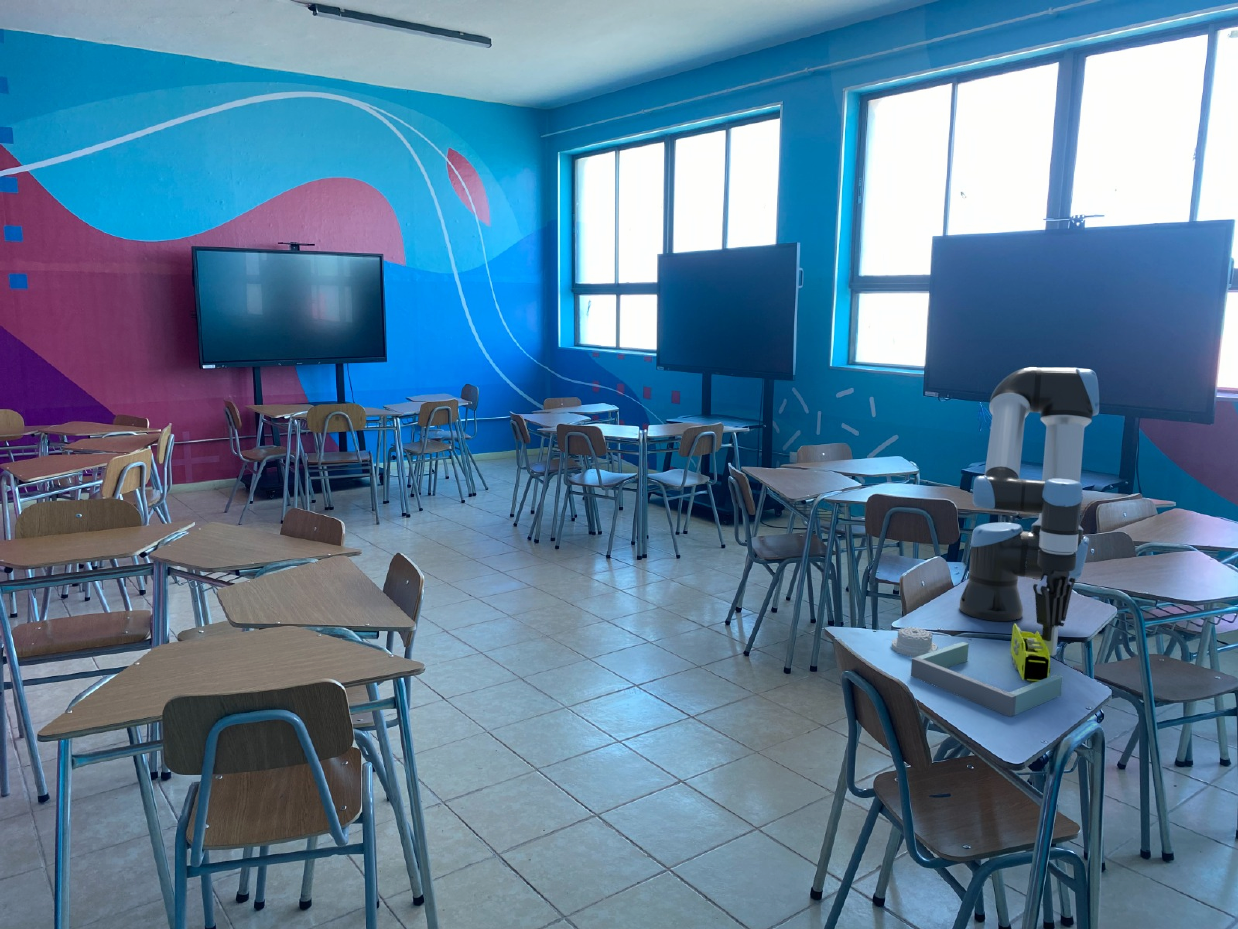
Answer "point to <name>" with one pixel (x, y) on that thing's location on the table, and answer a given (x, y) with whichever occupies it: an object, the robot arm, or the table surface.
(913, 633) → the white cake
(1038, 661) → the yellow toy chassis
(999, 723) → the table surface
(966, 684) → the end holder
